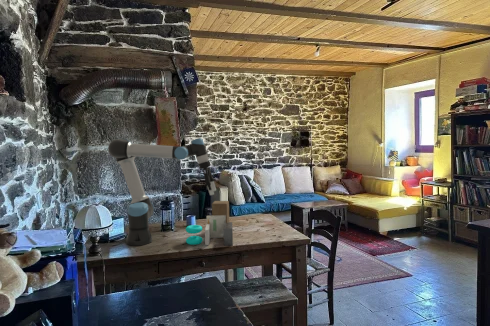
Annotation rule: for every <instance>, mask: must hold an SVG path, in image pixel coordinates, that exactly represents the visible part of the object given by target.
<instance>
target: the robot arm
mask: <svg viewBox="0 0 490 326" xmlns="http://www.w3.org/2000/svg"><path fill="white" fill-rule="evenodd" d="M190 141H191V143H190V144H187V145H182V146H177V145H158V144H146V143H133V142H132V141H130V140H128V139H126V138H120V139H119V138H117V139H113V140H112V141H110V142H109V144H108V147H107V151H108V153H109V155H110V156H111V157H113V158H114V159H115V161H116V163H117V164H119V165H120V168H121V170H122V173H123V176H124V179H125V182H126V185H127V187H128V191H129V194H130V197H131V199H132V200H131V202H130V204H129V205H128V207H127V215H128V216H127V217H128V221H127V222H128V233H127V237H126V239H125V240H126V243H125V244H126V245H128V246H143V245H144V246H145V245H148V244H150V243H152V242H153V235H152V233H151V230H150V226H149V222H150V221H149V219H150V218H151V217H152V216H153V214H154V212H155V205H154V203H153V202H152V201H151V200H150V199H151V198H150V197H149V196H148V195H146V192H145V188H144V186H143V183H142V181H141V178H140V175H139V171H138V169H137V166H136V163H135V159H136V157H141V158H159V159H161V158H162V159H175V160H176V159H177V160H185V159H186V158H188V157H192V156H195V158H196V161H197V164H198V167H199V169H200V170H202V173H203V178H204V182H205V187H207V190H208V193H209V196H213V195H215V192H216V191H217V188H216V184H215V181H216V180H215V179H214V177H213V174H212V172H211V169H210V167H211V166H212V165H211V161H210V157H209V156H210V155H209V154H208V152H207V149H206V145H205V143H204V140H203V138H202V137H199V138H195V139H191V140H190Z"/></svg>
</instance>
